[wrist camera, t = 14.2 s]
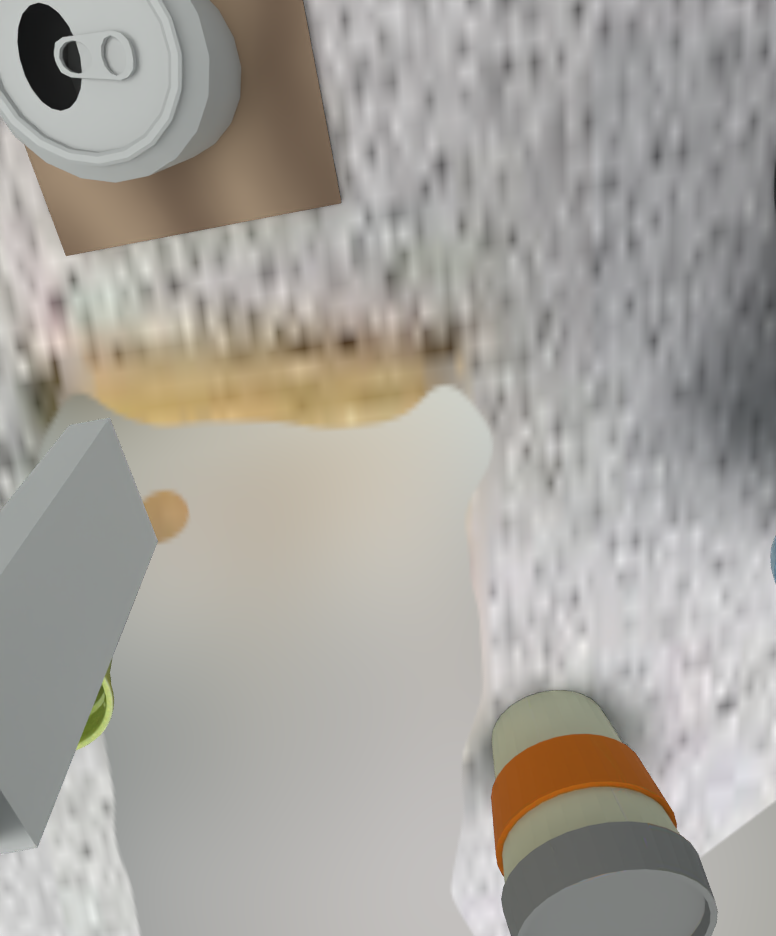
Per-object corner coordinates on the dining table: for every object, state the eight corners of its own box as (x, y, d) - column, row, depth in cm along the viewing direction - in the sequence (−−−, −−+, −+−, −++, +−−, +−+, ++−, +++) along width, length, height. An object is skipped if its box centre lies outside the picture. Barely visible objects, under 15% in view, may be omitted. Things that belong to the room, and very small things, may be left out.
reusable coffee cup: (444, 774, 57) (478, 981, 44) (506, 656, 52) (566, 851, 38) (585, 799, 59) (658, 1002, 46) (657, 690, 54) (763, 883, 41)
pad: (274, -148, 30) (272, -157, 29) (341, 199, 37) (341, 203, 36) (-50, -83, 30) (-64, -89, 29) (73, 251, 37) (66, 256, 36)
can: (55, -29, 31) (-93, -97, 20) (233, -31, 31) (181, -100, 20) (92, 162, 34) (-16, 192, 23) (252, 158, 34) (216, 184, 24)
